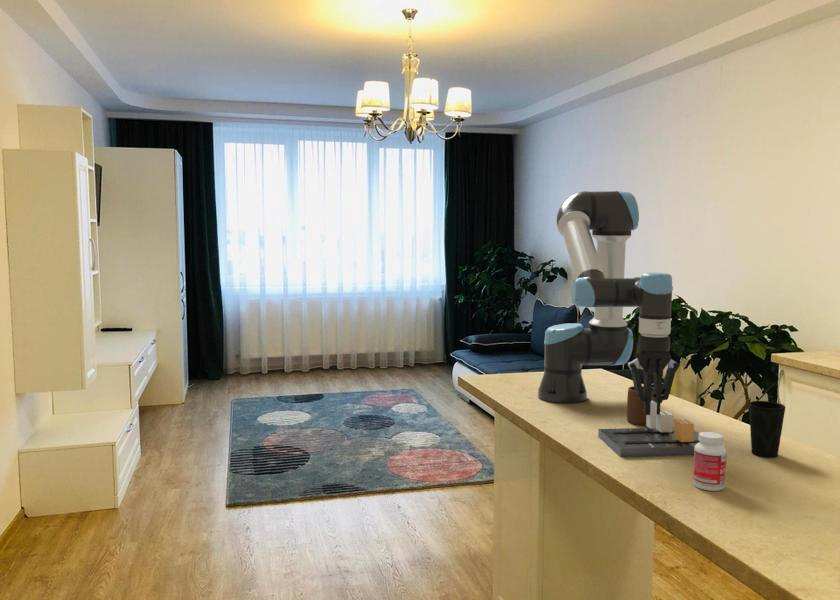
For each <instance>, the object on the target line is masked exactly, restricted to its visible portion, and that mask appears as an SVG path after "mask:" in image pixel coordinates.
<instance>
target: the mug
mask: <svg viewBox="0 0 840 600" xmlns="http://www.w3.org/2000/svg"><path fill="white" fill-rule="evenodd" d="M642 389H643V385H642ZM626 401H627V402H626V404H627V405H626V410H627V411H626V420H627V422H628V423H630V424H632V425H637V426H646V416H647V415H645V414H644V412H643V405H644V402H643V401H642V400H640V399H638V398H637V397H636V393H635V388H634V385H632V386H629V387H628V388H627V400H626ZM651 401H654V400H653V387H652V395H651Z"/></svg>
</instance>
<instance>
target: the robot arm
mask: <svg viewBox="0 0 840 600" xmlns="http://www.w3.org/2000/svg"><path fill="white" fill-rule="evenodd" d="M639 211H640V210H639V206H638V202H637V199H636V197H635V195H633V194H632V193H631V192H629V191H619V190H616V191H614V190H613V191H606V190H605V191H601V190H600V191H599V190H598V191H588V190H587V191H578V192H576V193H574V194H572V195H571V196H569V197H567V198H566V199H565V200H564V202H563V203H562V204H561V205H560V207H559V209H558V212H557V214H556V226H557V231H558V232H559V234H560V235H561V236H563V238H564V244H565V246H566V249H567V253H568V256H569V259H570V260H569V261H570V263H571V267H572V270H573V274H574V277H575V278H574V279H573V280H572V281H571V285H570V297H571V303H572V304H573V305H574V306H575V307H585V308H594V315H593V318H592V319H590V320H589V322H588V327H585V328H584V326H583V324H582V323H577V322H574V323H568V322H567V323H561V324H560V323H559V324H555V325H552V326H549V327H548V328H547V329H546V330H545V332H544V341H543V344H544V352H543V353H544V359H543V360H544V361H543V362H544V363H543V365H544V366H543V375H542V379H541V381H540V384H539V387H538V390H537V394H538V395H537V397H538V398H539V399H540V400H542V401H546V402H549V403H550V402H551V403H557V404H558V403H559V404H576V403H577V404H578V403H581V402H585V401H587V399H588V397H587V395H588V394H587V393H588V392H587V388H586V384H585V381H584V379H583V373H582V368H583V366H610V367H612V366H620V365H621V366H622V365H625V364H627V365H626V366H627V367H628V369H629V370H630V373H631V379H632V382H633V386H634V388H635V393H636V397H637V398H638V399H640V400H642V401H643V402H644V405H643V412H644V414H645V415H647V416H646V425H645V426H646V428H650V429H656V417H657V415H659V414H660V411H661V404H662V403H663V401H667V400H669V397H670V395H671V394H670V392H671V390H672V386H673V383H674V379H675V375H676V372H677V371H678V369H679V368H680V366H681V364H680V363H679V362H677V361H676V360H674V359H672V356H671V354H670V350H671V337H670V336H669V335H670V334H671V327H672V325H671V323H672V322H671V321H672V305H673V304H672V301H673V298H672V297H673V290H674V287H673V286H674V285H673V277H672V275H671V274H670V273H667V272H666V273H663V272H644V273H642V274H641V275H640V277H632V278H631V277H630V278H629V277H627V278H625V268H626V266H625V265H626V261H625V260H626V245H627V241H628V240H629V239H630V237H632V231H635V230H636V229H638V226H639V222H640V212H639ZM591 230H592V231H591ZM593 238H594V239H595V240H596V246H595V243H594V240H593ZM637 307H638V308H639V314H638V315H639V318H638V333H639V334H640V335H638V337H637V338H638V343H637V345H638V347H637V349H638V350H637V354H636V356H635V359H633V360H632V361H629V360H630V358H631V356H632V352H633V348H634V338H633V337H634V335H633V334H634V333H633V330H632V329H630V328H629V327H628V322H627V321H625V319H624V318H623V312H624V311H623V310H624V308H637ZM639 366H640V367H641V369H642V373H643V384H642V380H641V374H640V372H639V368H640V367H639ZM666 367H667V369H666V372H665V375H664V370H665V368H666ZM663 376H664V379H663ZM642 386H643V389H642ZM652 386H653V387H652ZM652 388H653V400H654V401H651V395H652Z"/></svg>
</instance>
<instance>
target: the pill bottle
mask: <svg viewBox="0 0 840 600" xmlns="http://www.w3.org/2000/svg"><path fill="white" fill-rule="evenodd" d="M698 439H699V441H700V442H699V443H697V444H696V445H695V448H694V455H693V475H692V476H693V477H692V483H693V485H694V486H695V488H698V489H699V490H703V491H704V490H705V491H711V492H718V491H719V492H720V491H722V490H724V488H725V486H726V484H725V483H726V473H727V472H726V470H727V448H726V446H724V445H723V442H724V435H723V434H720V433H717V432H712V431H700V432H699V438H698Z"/></svg>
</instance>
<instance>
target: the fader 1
mask: <svg viewBox="0 0 840 600" xmlns="http://www.w3.org/2000/svg"><path fill="white" fill-rule="evenodd" d="M673 427H674V414H672V413H671V412H669V411H668V410H660V414H659V415H657V417H656V429H657V430H658V431H660V432H673Z"/></svg>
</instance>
